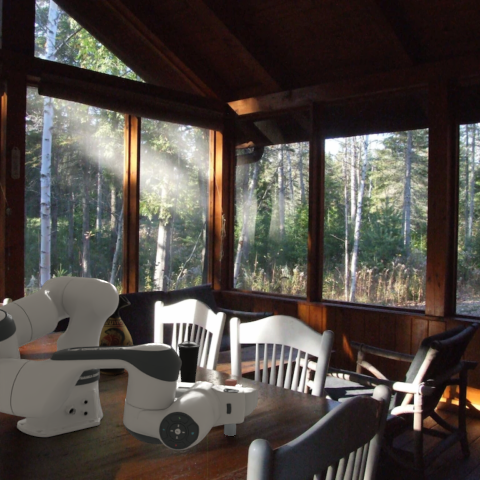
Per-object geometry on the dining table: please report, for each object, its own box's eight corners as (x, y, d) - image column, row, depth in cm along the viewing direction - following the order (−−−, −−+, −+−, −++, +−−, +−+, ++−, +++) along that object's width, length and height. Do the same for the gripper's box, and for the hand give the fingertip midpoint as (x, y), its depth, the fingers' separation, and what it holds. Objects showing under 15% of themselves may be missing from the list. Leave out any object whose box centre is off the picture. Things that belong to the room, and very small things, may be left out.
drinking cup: (172, 385, 180) (173, 326, 180) (185, 380, 187) (186, 323, 187) (191, 388, 177) (192, 329, 177) (203, 383, 184) (204, 325, 184)
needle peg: (230, 437, 134) (232, 382, 134) (221, 435, 136) (222, 380, 136) (238, 434, 137) (239, 380, 137) (229, 431, 138) (230, 378, 138)
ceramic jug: (138, 367, 203) (140, 290, 203) (125, 378, 188) (127, 294, 188) (95, 365, 205) (97, 288, 205) (79, 376, 190) (81, 292, 190)
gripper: (156, 415, 113) (178, 396, 126) (250, 424, 108) (262, 403, 122) (156, 385, 113) (178, 369, 126) (250, 393, 108) (262, 376, 122)
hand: (220, 386), depth 124 cm, fingers open, 8 cm apart
